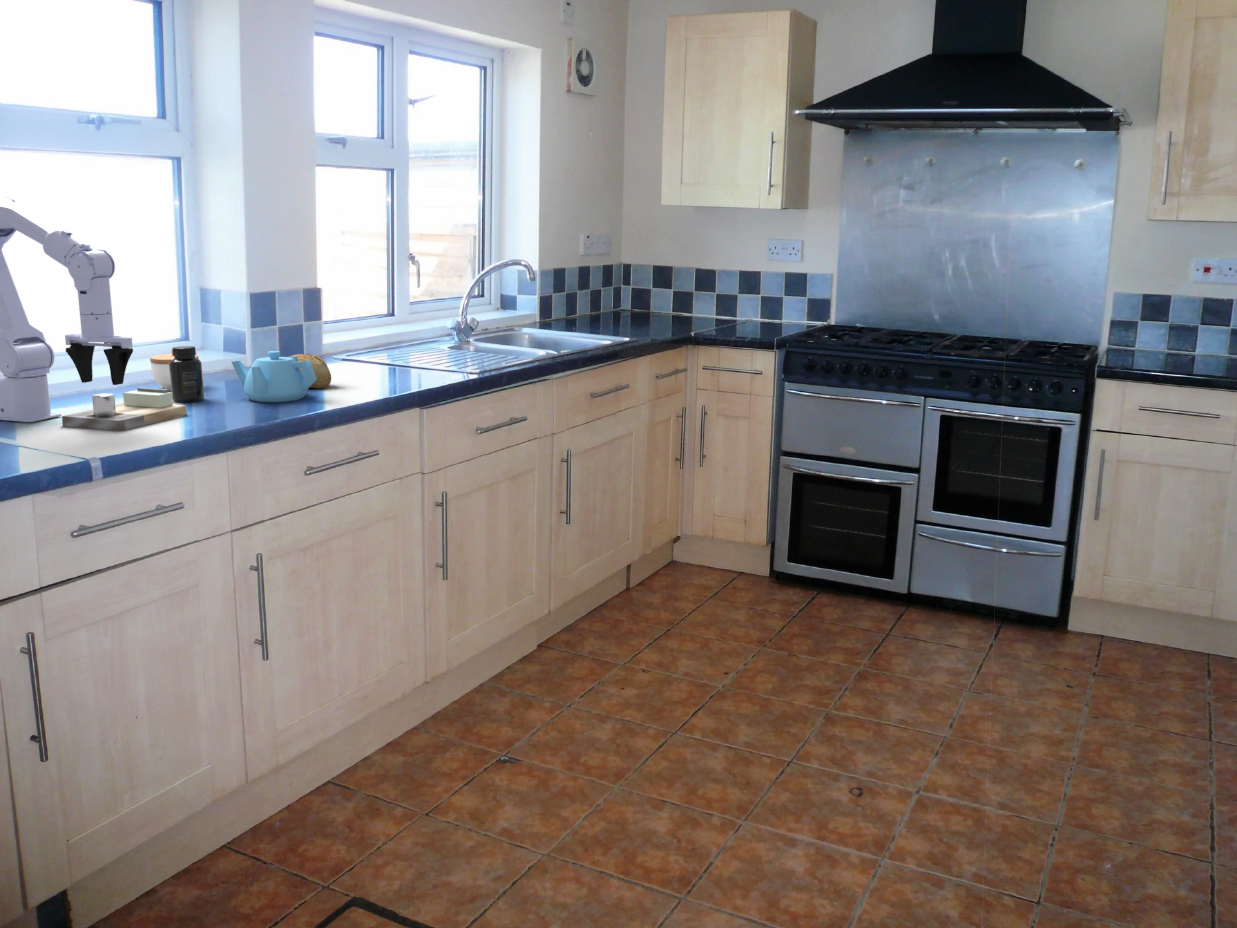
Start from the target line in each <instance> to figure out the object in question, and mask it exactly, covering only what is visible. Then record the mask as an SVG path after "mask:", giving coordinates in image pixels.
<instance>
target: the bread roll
mask: <svg viewBox="0 0 1237 928" xmlns="http://www.w3.org/2000/svg"><path fill="white" fill-rule="evenodd" d="M291 356H298V362H302V361H308V360H310V361H311V364H312V367H313V370H314V373H315V375H316V378H317V380H316V381H315V382H314V383H313V384H312V385H311V386H310V387H309V388H311V389H320V390H321V389H322V390H323V389H326V388H328V387H329V386H330V384H331V382H332V375H331V374H332V373H331V371H330V369H329V367H328V365H327V363H326V361H325V360H324V359H323V358H322V357H320V356H319V355H317V354H310V353H309V354H308V353H305V354H304V353H302V354H301V353H297V354H293V355H289V357H291ZM300 368H301V370H302V371H303V368H302V366H301V367H300ZM303 373H304V372H303Z"/></svg>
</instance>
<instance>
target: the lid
mask: <svg viewBox="0 0 1237 928" xmlns="http://www.w3.org/2000/svg"><path fill="white" fill-rule="evenodd" d="M122 394H123V395H122V396H123V397H122V398H123V403H124V405H128V406H141V407H154V408H162V407H166V406H170V405H173V404H174V401H173V397H172V391H170V392H169V391H168V390H167V389H163V388H149V387H137V388H136V390H130V391H126V392H125V391H124V392H123V393H122Z"/></svg>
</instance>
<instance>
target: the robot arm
mask: <svg viewBox="0 0 1237 928" xmlns="http://www.w3.org/2000/svg"><path fill="white" fill-rule="evenodd" d="M17 231H18V232H19V233H21V234H23V235H24V236H26V237H28V238H29V239H31V240H33V241H35V242H36V243H38V244H41V245H42V249H43V252H44V254H45V255H46V256H48V257H50V258H51V259H53V260H54V261H56V262H58V263H59V264H60V265H62V266H64V268H67V270H68V273H69V275H70V277H71V278H72V280H73V283H74V288H75V290H76V291H77V297H78V311H79V321H80V330H81V331H80V332H81V334H80V333H79V334H75V333H74V334H72V333H71V334H65V335H64V339H65V340H64V341H65V346H69V347H65V352H66V355H68V356H69V358H70V359H71V361H72V362H73V364H74V366H75V368H76V370H77V373H78V375H79V379H80V381H81V383H85V384H86V383H90V382H93V377H94V376H93V374H94V373H93V357H94V352H95V348H96V347H105V349H103V353H104V354H105V357H106V360H107V363H108V366H109V371H110V378H111V383H112V385H114V386H118V385H124V380H125V373H126V370H127V366H128V363H129V360H130V358H131V356H132V355H133V352H134V348H133V337H128V336H120V335H115V330H114V329H115V328H114V319H113V310H112V308H113V307H112V298H111V297H112V296H111V283H110V279H111V278H112V277H113V276H114V274H115V270H116V265H115V261H114V258H113V256H112V255H111V254H110V253H109V252H108V251H107V250H105V249H94V248H92V247H91V245H90V244H89V243H87V242H83V241H81V240H80V239H77V238H76V237H75V236H73V232H72V231H70V230H69V229H55V230H53V229H52V228H51V227H49V225H47V224H45V223H44V222H42V221H41V220H40V219H39V218H37V217H36V216H34V215H33V214H32V213H31V212H29V211H28V210H27V209H26V207H25V205H24V204H23V203H21V202H18V201H17V200H16V199H15V198H12V197H5V198H4V197H3V198H1V197H0V373H2V376H0V420H1V421H11V422H22V423H35V422H39V421H45V420H49V419H53V418H58V417H62V413H56V412H54V413H53V412H52V411H51V410H52V409H51V402H50V392H49V391H50V390H49V383H48V375H47V374H50V373H51V372H50V369H51V368H52V367H53V365H54V362H55V353H54V349H53V348H52V346H51V344H50V343H49V342H48V341H47V340H46V338H45V335H44V333H43V332H42V331H40V330H39V329H37V328H36V327H34V326H33V325H31V324H30V322H29V320H28V316H27V314H26V312H25V309H24V306H23V303H22V300H21V297H20V296H19V292H18V291H17V287H16V285H15V282H14V279H13V277H12V274H11V272H10V269H9V266H8V263H7V260H6V259H5V255H4V253H3V247H4V245H5V244H6V243H8V242H9V240H11V238H12V237H13V236H14V235H15V233H16V232H17ZM106 347H107V348H106Z"/></svg>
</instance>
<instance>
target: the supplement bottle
mask: <svg viewBox="0 0 1237 928" xmlns="http://www.w3.org/2000/svg"><path fill="white" fill-rule="evenodd" d="M172 349H173V356H174V359H173V360H171V361H170V363H169V370H170V381H171V391H170V392H172V397H173V403H174V402H175V403H193V402H195V403H196V402H201V401H203V400H204V399H205V388H204V387H205V386H204V377H203V364H202V361H201V360H200V359H197V358H196V357H195V355H197V351H196V346H194V345H193V346H192V345H191V346H190V345H187V346H185V345H182V346H181V345H180V346H174V347H172ZM172 349H171V350H172Z"/></svg>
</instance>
